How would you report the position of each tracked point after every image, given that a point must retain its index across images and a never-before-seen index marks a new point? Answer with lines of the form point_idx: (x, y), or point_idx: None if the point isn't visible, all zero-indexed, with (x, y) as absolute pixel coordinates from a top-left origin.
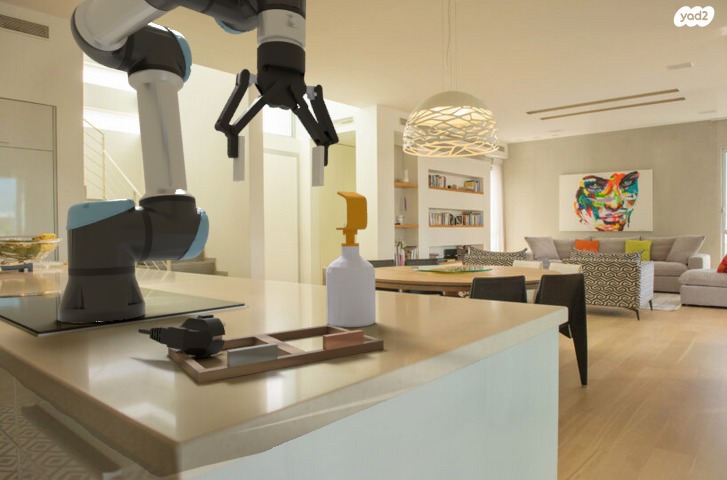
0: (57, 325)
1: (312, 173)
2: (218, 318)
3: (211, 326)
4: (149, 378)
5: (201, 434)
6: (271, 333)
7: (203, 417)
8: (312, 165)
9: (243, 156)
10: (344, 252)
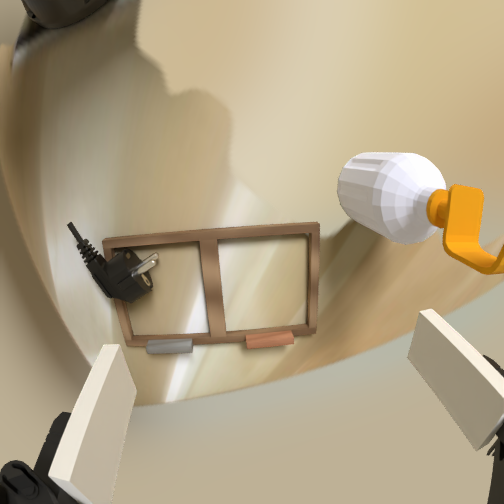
0: None
1: (444, 340)
2: (141, 287)
3: (133, 300)
4: (93, 307)
5: None
6: (225, 235)
7: None
8: (463, 357)
9: (117, 451)
10: (419, 210)
